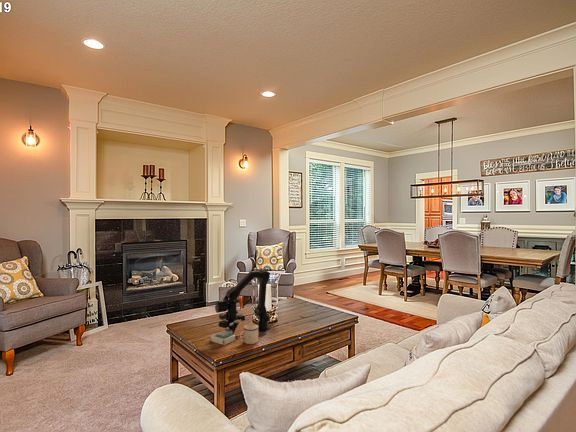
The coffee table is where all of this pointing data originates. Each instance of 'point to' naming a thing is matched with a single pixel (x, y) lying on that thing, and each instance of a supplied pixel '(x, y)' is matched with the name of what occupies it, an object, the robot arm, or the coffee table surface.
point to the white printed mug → (250, 333)
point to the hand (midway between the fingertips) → (232, 334)
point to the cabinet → (225, 333)
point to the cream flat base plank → (222, 341)
